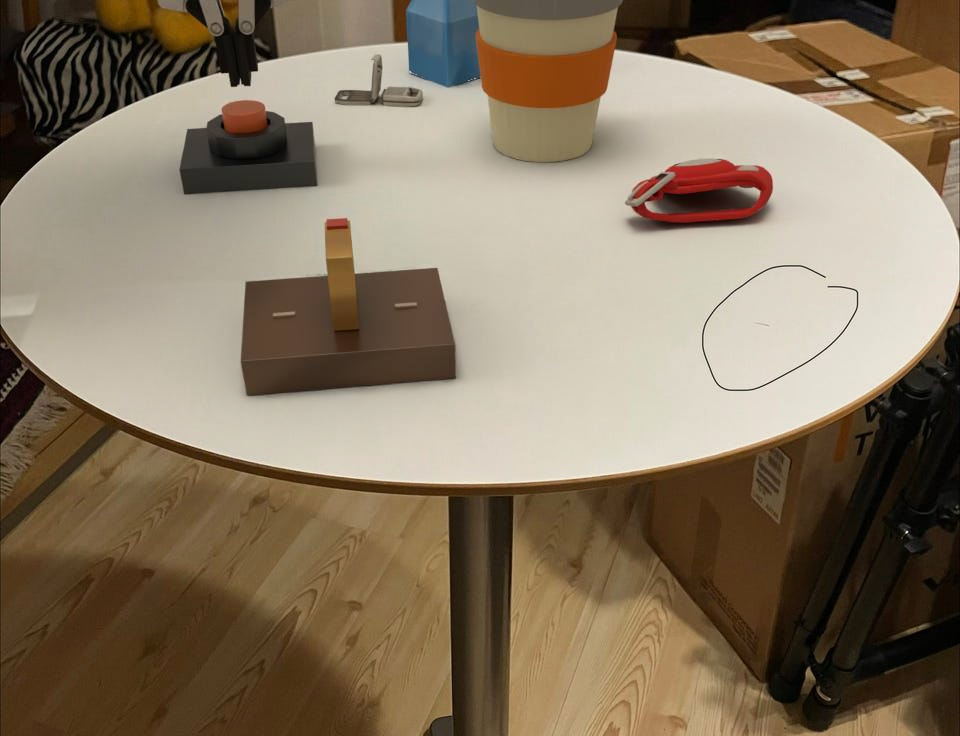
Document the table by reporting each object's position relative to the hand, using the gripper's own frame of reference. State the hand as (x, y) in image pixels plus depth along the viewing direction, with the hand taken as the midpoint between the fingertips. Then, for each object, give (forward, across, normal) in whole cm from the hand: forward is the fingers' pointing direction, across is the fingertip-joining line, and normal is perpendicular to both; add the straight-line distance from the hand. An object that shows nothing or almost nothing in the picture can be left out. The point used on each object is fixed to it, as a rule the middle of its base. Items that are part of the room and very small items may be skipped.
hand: (241, 80), depth 86 cm
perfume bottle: (+8, +20, +22) cm, 31 cm away
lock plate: (+7, +7, -30) cm, 32 cm away
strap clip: (+8, +12, +15) cm, 21 cm away
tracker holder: (+8, +35, -13) cm, 38 cm away
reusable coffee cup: (+8, +26, +2) cm, 27 cm away
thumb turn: (+5, +7, -30) cm, 31 cm away
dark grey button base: (+8, 0, 0) cm, 8 cm away
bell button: (+4, 0, 0) cm, 4 cm away
